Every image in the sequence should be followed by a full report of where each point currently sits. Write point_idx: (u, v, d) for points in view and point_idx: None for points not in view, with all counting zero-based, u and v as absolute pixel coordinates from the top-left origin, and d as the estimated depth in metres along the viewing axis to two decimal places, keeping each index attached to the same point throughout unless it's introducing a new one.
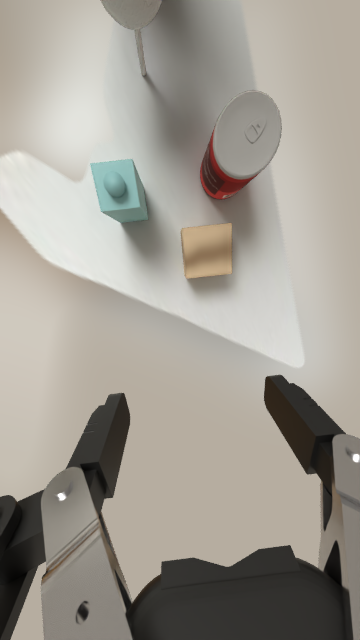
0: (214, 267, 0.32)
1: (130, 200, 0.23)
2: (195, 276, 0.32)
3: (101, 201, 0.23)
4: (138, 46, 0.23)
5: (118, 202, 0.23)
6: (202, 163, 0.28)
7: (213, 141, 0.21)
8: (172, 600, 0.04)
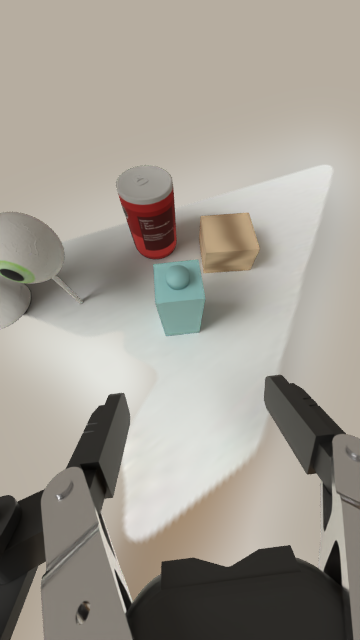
0: (244, 226, 0.29)
1: (191, 267, 0.20)
2: (256, 241, 0.28)
3: (194, 296, 0.19)
4: (68, 289, 0.27)
5: (194, 279, 0.19)
6: (150, 248, 0.31)
7: (145, 203, 0.24)
8: (172, 600, 0.04)
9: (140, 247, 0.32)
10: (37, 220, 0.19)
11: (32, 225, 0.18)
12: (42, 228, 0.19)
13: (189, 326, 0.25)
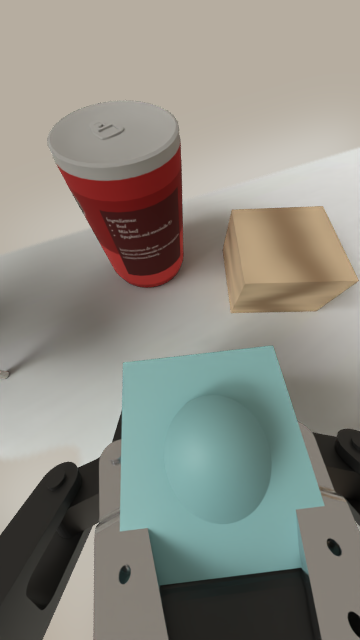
0: (317, 231, 0.15)
1: (256, 381, 0.06)
2: (347, 263, 0.14)
3: (289, 547, 0.04)
4: None
5: (274, 439, 0.05)
6: (136, 272, 0.17)
7: (112, 176, 0.10)
8: (172, 600, 0.04)
9: (118, 269, 0.18)
10: None
11: None
12: None
13: None
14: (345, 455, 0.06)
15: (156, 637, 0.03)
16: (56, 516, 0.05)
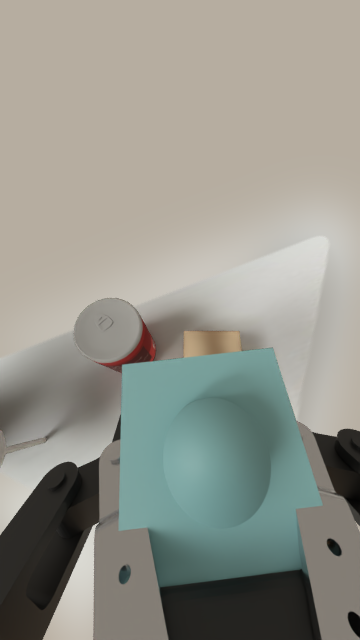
0: None
1: (255, 384, 0.06)
2: None
3: (288, 551, 0.04)
4: (22, 447, 0.22)
5: (273, 442, 0.05)
6: None
7: (107, 362, 0.20)
8: (172, 600, 0.04)
9: None
10: None
11: None
12: None
13: None
14: (345, 455, 0.06)
15: (155, 636, 0.03)
16: (56, 516, 0.05)
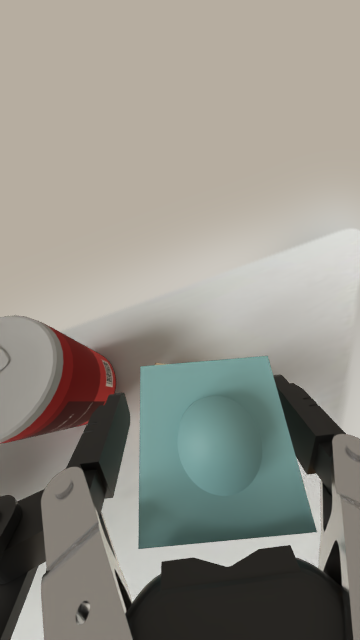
0: None
1: (252, 386, 0.07)
2: None
3: (275, 519, 0.05)
4: None
5: (265, 434, 0.06)
6: None
7: None
8: (172, 600, 0.04)
9: None
10: None
11: None
12: None
13: None
14: None
15: None
16: None
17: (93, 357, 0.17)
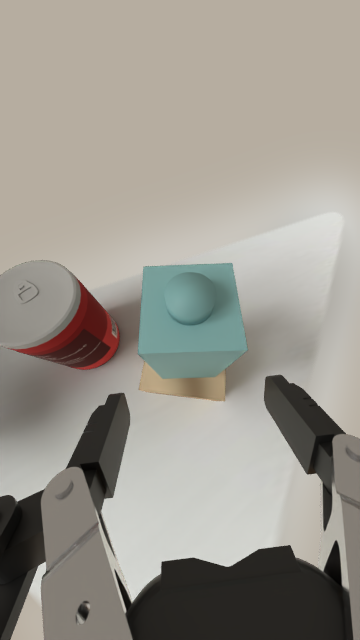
0: None
1: (219, 279, 0.10)
2: (223, 382, 0.17)
3: (222, 343, 0.08)
4: None
5: (223, 304, 0.09)
6: (70, 366, 0.20)
7: (18, 347, 0.13)
8: (172, 600, 0.04)
9: None
10: None
11: None
12: None
13: (202, 373, 0.15)
14: None
15: None
16: None
17: (101, 307, 0.20)
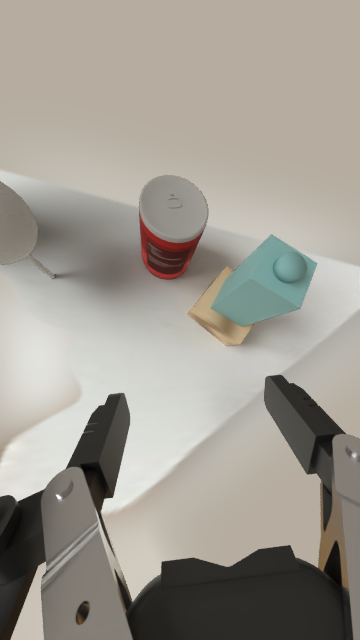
0: None
1: None
2: (245, 334, 0.25)
3: (290, 298, 0.16)
4: (37, 265, 0.23)
5: (301, 281, 0.16)
6: (151, 266, 0.27)
7: (158, 235, 0.19)
8: (172, 600, 0.04)
9: (143, 256, 0.27)
10: (8, 202, 0.14)
11: None
12: (8, 218, 0.14)
13: (243, 316, 0.22)
14: None
15: None
16: None
17: None
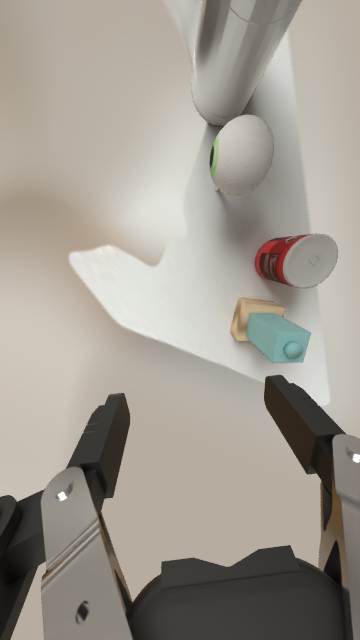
0: None
1: (297, 357, 0.28)
2: (244, 340, 0.38)
3: (275, 356, 0.28)
4: None
5: (287, 358, 0.28)
6: (260, 257, 0.34)
7: (284, 264, 0.28)
8: (172, 600, 0.04)
9: (265, 246, 0.34)
10: (260, 175, 0.21)
11: (250, 176, 0.21)
12: (250, 183, 0.21)
13: (253, 335, 0.34)
14: None
15: None
16: None
17: None
